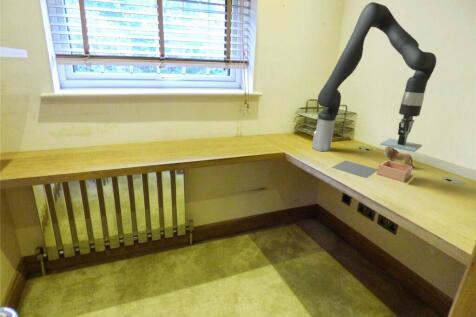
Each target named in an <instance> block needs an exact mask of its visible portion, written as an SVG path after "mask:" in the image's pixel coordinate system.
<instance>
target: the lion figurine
mask: <svg viewBox="0 0 476 317" xmlns="http://www.w3.org/2000/svg"><path fill="white" fill-rule="evenodd" d="M383 153H384V156H386V157H387V159H388V160H389V161H393V162H395V161H396V160H397V161H404V164H405V165H409V166H413V168H415V166H414V163H413V162H414V161H413V157H412V155H410V154H409V153H400V152H399V151H398V149H396V148H393V147H388V146H385V148H384V150H383Z"/></svg>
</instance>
